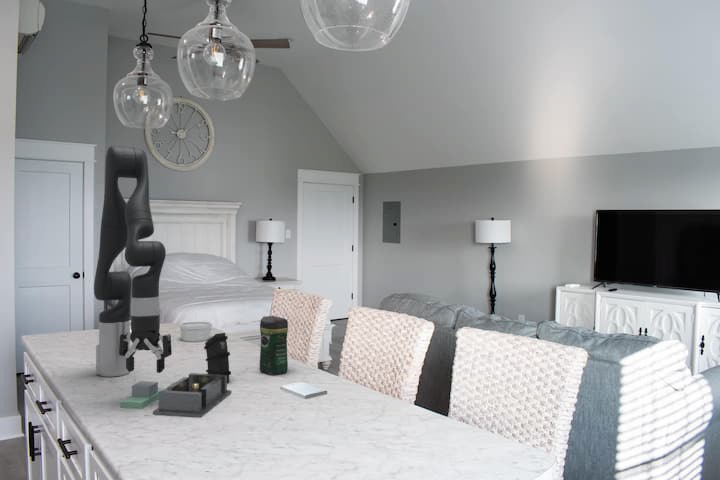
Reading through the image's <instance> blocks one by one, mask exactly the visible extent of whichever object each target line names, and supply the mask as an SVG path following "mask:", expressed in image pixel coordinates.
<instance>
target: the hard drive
mask: <svg viewBox="0 0 720 480" xmlns="http://www.w3.org/2000/svg"><path fill="white" fill-rule="evenodd" d="M279 390H280V391H282V392H286V393H288V394H291V395H294V396H296V397H298V398H301V399H303V400H306V399H311V398H316V397H320V396H323V395H328V390H326V389H324V388H320V387H318V386H314V385H312V384H310V383H306V382H303V381H298V382H293V383H289V384H283V385H281V386H280V388H279Z"/></svg>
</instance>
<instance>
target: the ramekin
mask: <svg viewBox="0 0 720 480" xmlns="http://www.w3.org/2000/svg"><path fill="white" fill-rule="evenodd" d="M212 327H213V324H212V322H210V321H200V320H199V321H197V320H196V321H185V322H181V323H179V330H180V337H181V340H182V341H184V342H188V343H195V342H196V343H199V342H205V341H206V342H207V341H208V340H209V339H210V338H211V331H212Z"/></svg>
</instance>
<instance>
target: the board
mask: <svg viewBox="0 0 720 480" xmlns="http://www.w3.org/2000/svg"><path fill="white" fill-rule="evenodd" d="M161 390H165V391H167V387H159V381H151V380H148V381H147V380H140V381H138V382H136V383H134V384H132V385H131V396H129V397H127V398H125V399H123V400H121V401H120V408H122V409H140V410H142V409H143V410H144V408H145V407H148V406H149V405H151V404H152V403H153V402H156V401H158V400H159V391H161Z"/></svg>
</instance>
